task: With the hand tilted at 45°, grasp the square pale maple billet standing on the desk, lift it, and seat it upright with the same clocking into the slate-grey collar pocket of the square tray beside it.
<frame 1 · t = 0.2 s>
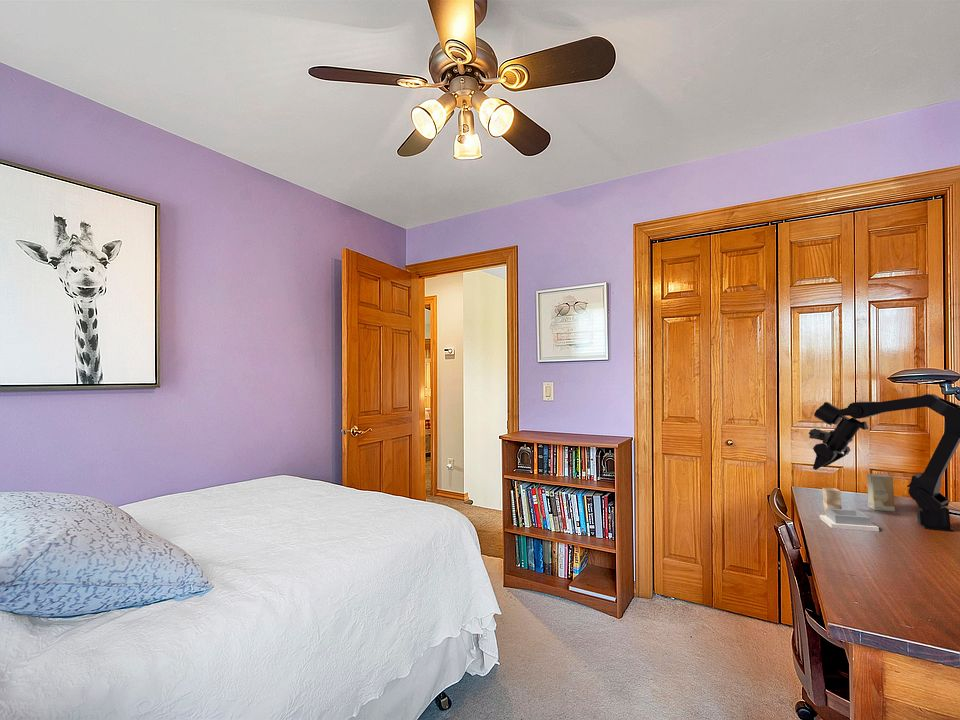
hand: (818, 467, 169), 15 cm above the table, tool tilted 30°, fingers open, 9 cm apart
square tray: (848, 524, 148), on the table
billet: (833, 515, 158), on the table
skincare box: (882, 510, 165), on the table
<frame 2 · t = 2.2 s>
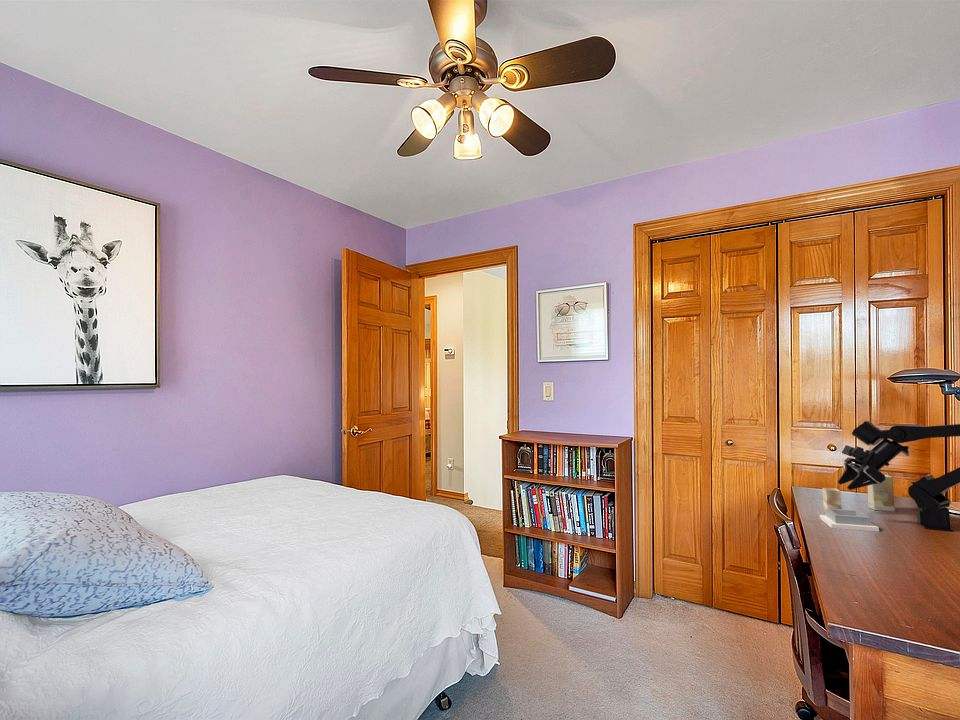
hand: (843, 486, 158), 10 cm above the table, tool tilted 45°, fingers open, 9 cm apart
nothing on the table moved.
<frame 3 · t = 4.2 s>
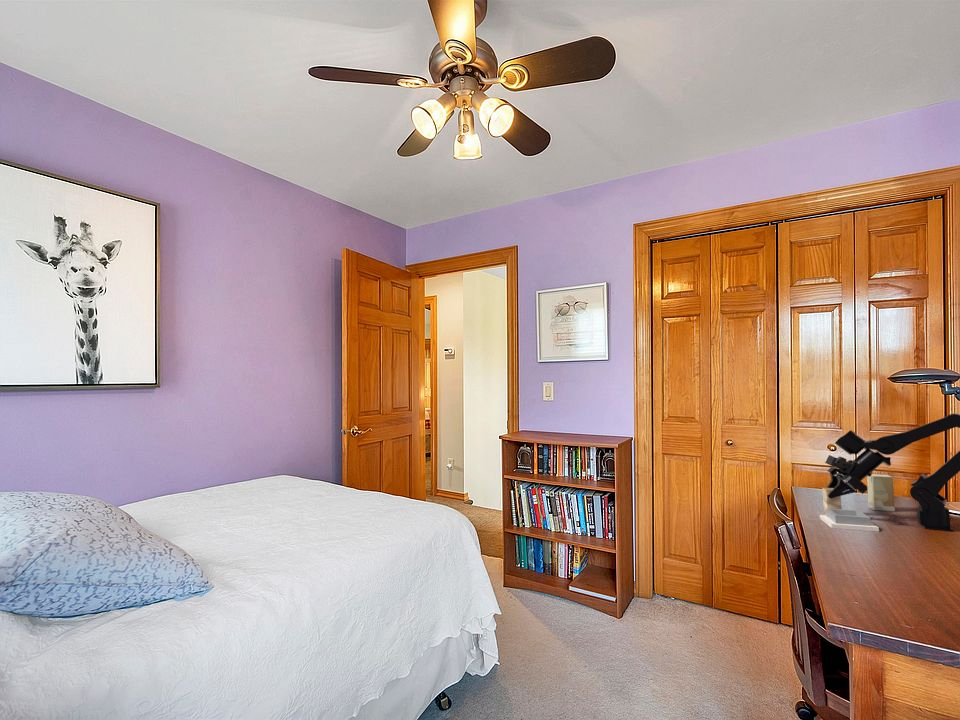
hand: (826, 495, 159), 7 cm above the table, tool tilted 45°, fingers closed on billet, 4 cm apart
billet: (833, 515, 158), on the table, touching gripper
everything else where it was.
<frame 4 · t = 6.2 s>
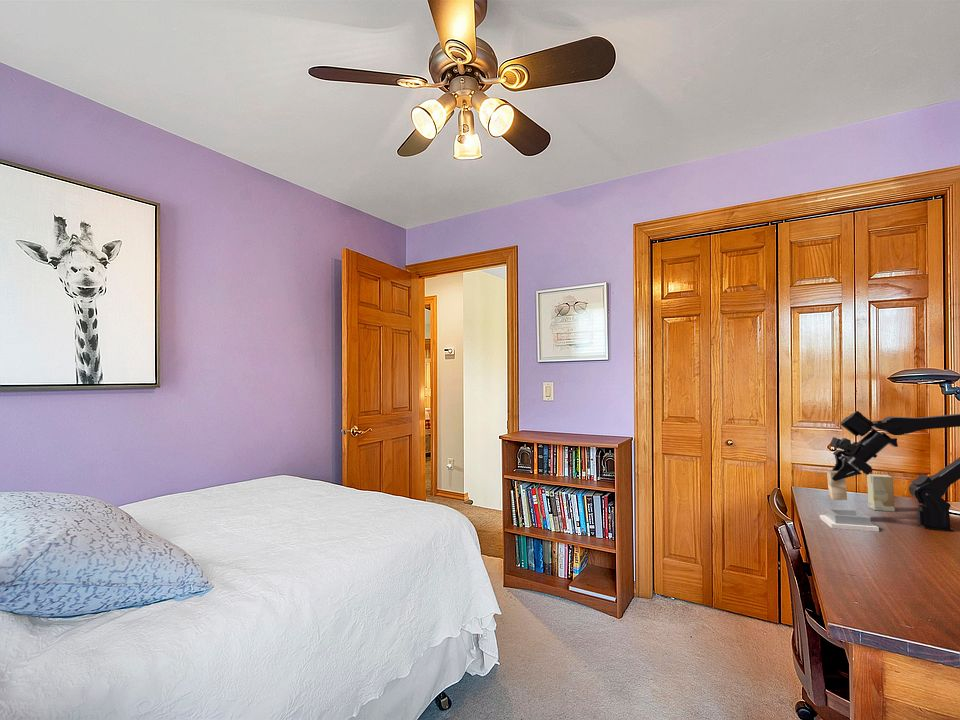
hand: (831, 478, 156), 13 cm above the table, tool tilted 45°, fingers closed on billet, 4 cm apart
billet: (838, 498, 155), point 7 cm above the table, touching gripper
everything else where it was.
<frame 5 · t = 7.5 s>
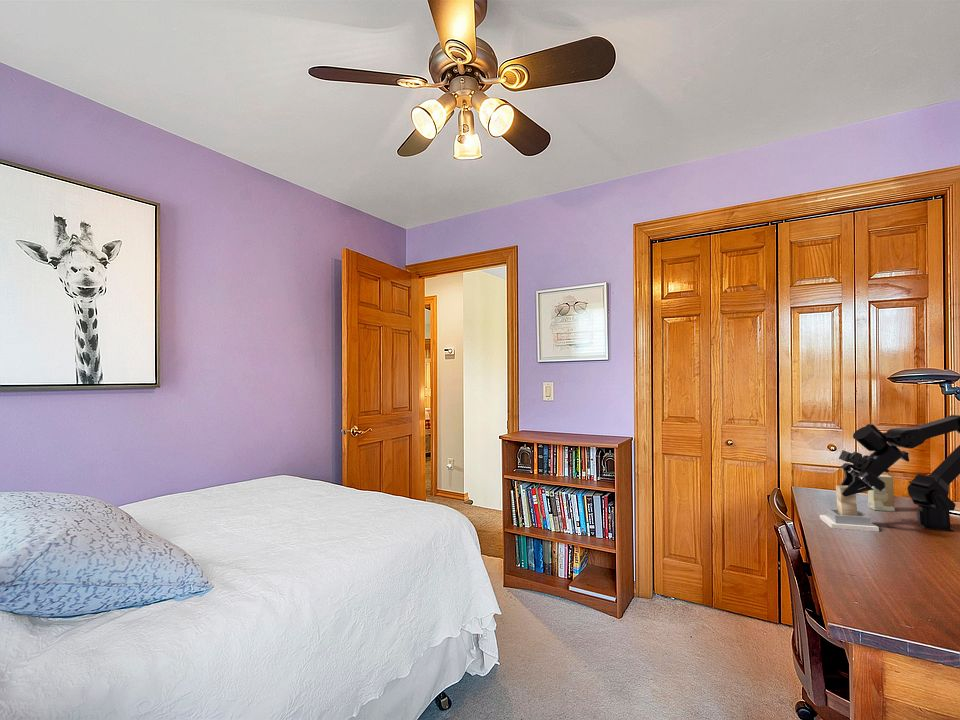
hand: (840, 493, 149), 10 cm above the table, tool tilted 45°, fingers closed on billet, 4 cm apart
billet: (847, 514, 148), point 3 cm above the table, touching gripper
everything else where it was.
when the fingers open (9 cm above the table, at t = 8.7 s): billet drops 1 cm, resting on square tray.
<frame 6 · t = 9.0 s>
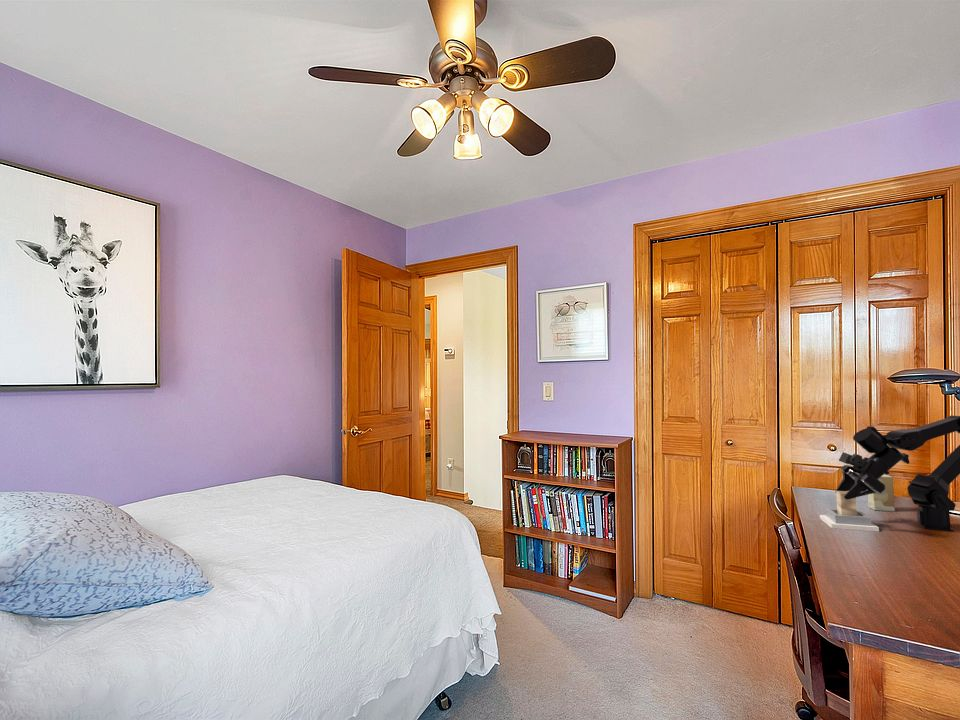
hand: (840, 495, 149), 9 cm above the table, tool tilted 45°, fingers open, 7 cm apart
billet: (847, 520, 148), point 1 cm above the table, touching square tray
everything else where it was.
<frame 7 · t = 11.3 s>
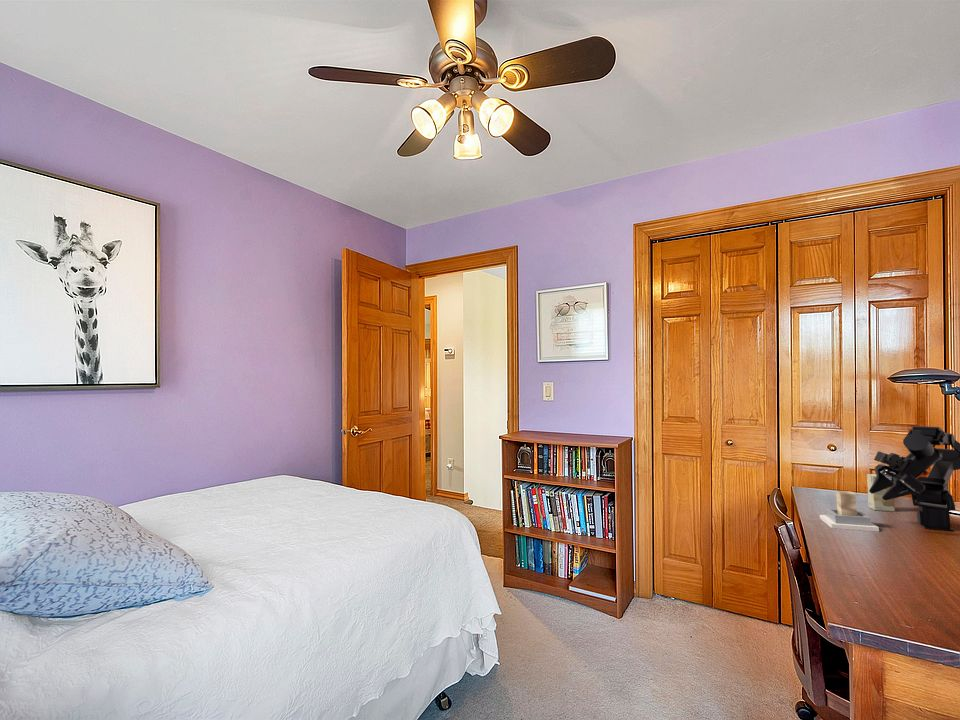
hand: (876, 495, 146), 10 cm above the table, tool tilted 45°, fingers open, 9 cm apart
nothing on the table moved.
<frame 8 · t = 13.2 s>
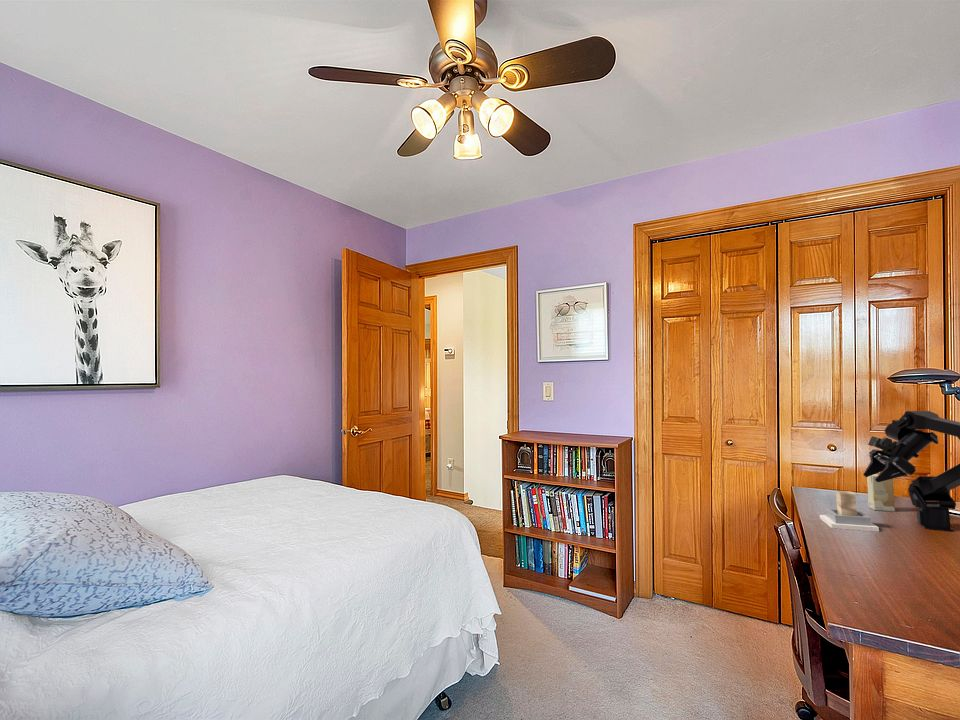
hand: (870, 478, 153), 14 cm above the table, tool tilted 45°, fingers open, 9 cm apart
nothing on the table moved.
at the end: billet 0.0 cm off-centre on the square tray, point 1.2 cm above the square tray's base; billet tilted 0°; the gripper is holding nothing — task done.
